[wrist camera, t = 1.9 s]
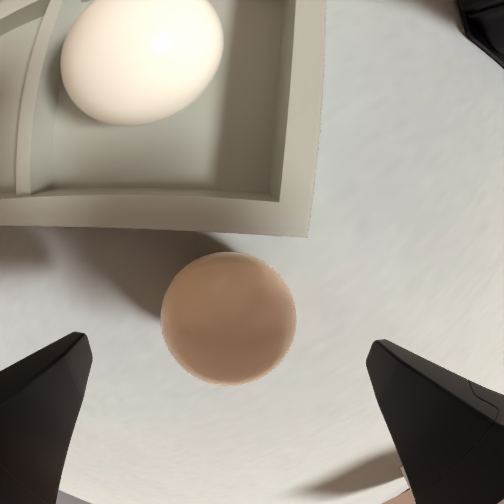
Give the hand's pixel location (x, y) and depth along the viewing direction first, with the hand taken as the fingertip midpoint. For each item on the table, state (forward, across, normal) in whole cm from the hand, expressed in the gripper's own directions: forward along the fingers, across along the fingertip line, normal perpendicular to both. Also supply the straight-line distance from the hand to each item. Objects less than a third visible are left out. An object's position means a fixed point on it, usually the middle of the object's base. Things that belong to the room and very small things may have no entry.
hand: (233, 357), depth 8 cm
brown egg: (+5, 0, 0) cm, 5 cm away
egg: (+4, +3, -9) cm, 10 cm away
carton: (+5, +8, -13) cm, 16 cm away
